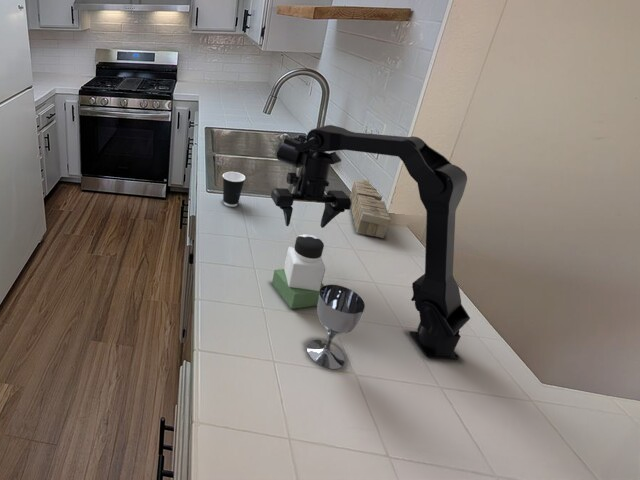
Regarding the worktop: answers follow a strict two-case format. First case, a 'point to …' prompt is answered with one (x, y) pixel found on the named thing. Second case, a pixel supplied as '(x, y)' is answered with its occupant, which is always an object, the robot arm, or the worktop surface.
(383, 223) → the block tower
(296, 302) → the green block
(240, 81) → the worktop surface
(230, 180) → the dixie cup
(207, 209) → the worktop surface
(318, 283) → the medicine bottle
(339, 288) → the wine glass
